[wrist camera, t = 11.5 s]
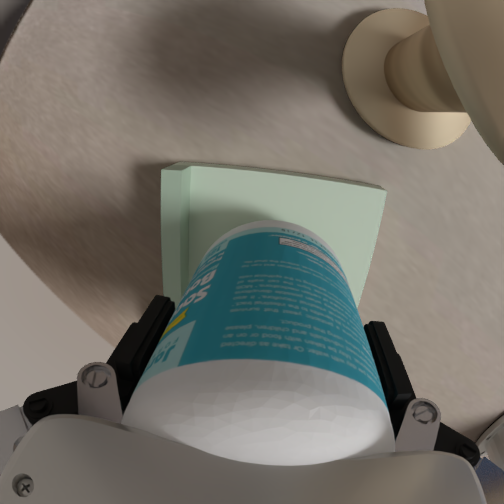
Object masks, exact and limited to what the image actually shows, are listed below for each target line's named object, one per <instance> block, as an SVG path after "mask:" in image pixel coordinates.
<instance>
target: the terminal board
mask: <svg viewBox="0 0 504 504" xmlns="http://www.w3.org/2000/svg"><path fill="white" fill-rule="evenodd" d="M386 194H387V190H385V189H384V188H382V187H381V186H377V185H372V184H366V183H361V182H355V181H349V180H343V179H337V178H331V177H324V176H318V175H311V174H303V173H296V172H288V171H280V170H272V169H263V168H254V167H244V166H233V165H221V164H208V163H194V162H178V163H175V164H173V165H171V166H168V167H166V168H164V169H161V251H162V276H163V294H164V296H166V297H170V299H171V301H174V302H175V310H176V308H177V306H178V304H179V302H180V300H181V298H182V296H183V294H184V292H185V290H186V288H187V286H188V284H189V283H190V281H191V279H192V277H193V275H194V273H195V271H196V269H197V267H198V266H199V264H200V262H201V260H202V259H203V257H204V255H205V254H206V252H207V251H208V249H209V248H210V247H211V246H212V245H213V244H214V242H215V241H217V240H218V239H219V238H220V237H221V236H223V235H224V234H225V233H227V232H229V231H230V230H232V229H234V228H236V227H238V226H241V225H244V224H247V223H251V222H255V221H263V220H278V221H285V222H290V223H294V224H297V225H300V226H302V227H304V228H306V229H308V230H310V231H312V232H313V233H315V234H316V235H318V236H319V237H320V238H322V239H323V240H324V241H325V242H326V243H327V244H328V245H329V246H330V247H331V249H332V250H333V251H334V253H335V254H336V256H337V257H338V259H339V261H340V263H341V266H342V268H343V271H344V273H345V276H346V278H347V281H348V284H349V287H350V290H351V292H352V295H353V298H354V301H355V304H356V307H357V308H358V305H359V301H360V298H361V295H362V291H363V288H364V285H365V281H366V278H367V274H368V270H369V267H370V263H371V259H372V255H373V252H374V248H375V244H376V240H377V235H378V231H379V227H380V223H381V218H382V214H383V209H384V204H385V199H386Z"/></svg>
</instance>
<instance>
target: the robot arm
mask: <svg viewBox="0 0 504 504" xmlns="http://www.w3.org/2000/svg"><path fill="white" fill-rule="evenodd" d="M174 311H175V302H174V301H171V299H170V297H166V296H160V295H156V296H155V297H154V299H153V300H152V302H151V303H150V305H149V306H148V308H147V310H146V311H145V313H144V314H143V316H142V317H141V319H140V320H139V322H138V323H135V322H134V323H132V324H131V325H130V327H129V328H128V330H127V331H126V333H125V334H124V336H123V338H122V339H121V341H120V342H119V344H118V345H117V347H116V348H115V350H114V351H113V353H112V355H111V356H110V358H109V359H108V361H107V363H102V362H93V363H89V364H87V365H85V366H84V367H83V368H81V369H80V371H79V373H78V376H77V381H74V382H71V383H68V384H64V385H61V386H57V387H54V388H50V389H47V390H43V391H40V392H36V393H34V394H32V395H30V396H29V397H28V398H27V399H26V400H25V402H24V405H23V406H22V407H19V406H18V405H16V406H14V407H11V408H8V409H6V410H3V411H0V504H504V415H503V416H502V417H500V418H499V419H498V420H497V421H496V422H495V423H493V424H492V425H491V426H490V427H489V428H488V429H487V430H486V431H485V432H484V433H483V434H482V436H481V437H480V438H479V439H478V441H477V442H476V444H475V443H474V442H473V441H471V440H470V439H468V438H466V437H465V436H463V435H461V434H460V433H458V432H456V431H455V430H453V429H451V428H450V427H448V426H446V425H445V424H443V423H441V422H440V420H441V412H440V409H439V408H438V406H437V405H436V404H435V403H434V402H432V401H430V400H428V399H425V398H417V399H416V396H415V393H414V391H413V388H412V385H411V383H410V380H409V377H408V375H407V372H406V370H405V367H404V365H403V362H402V360H401V357H400V355H399V354H398V353H397V352H396V350H395V347H394V345H393V342H392V340H391V337H390V335H389V333H388V330H387V328H386V326H385V323H384V322H378V321H370V322H369V324H365V325H364V331H365V334H366V337H367V340H368V343H369V346H370V350H371V353H372V356H373V359H374V362H375V366H376V369H377V372H378V376H379V379H380V382H381V386H382V389H383V393H384V396H385V400H386V404H387V407H388V411H389V415H390V420H391V424H392V428H393V432H394V439H395V452H387V453H378V454H373V455H368V456H362V457H356V458H350V459H341V460H334V461H330V462H325V463H319V464H312V465H296V466H282V465H264V464H255V463H248V462H242V461H237V460H232V459H228V458H224V457H220V456H217V455H213V454H210V453H207V452H205V451H202V450H200V449H197V448H195V447H191V446H188V445H184V444H181V443H178V442H175V441H172V440H169V439H166V438H163V437H160V436H158V435H155V434H152V433H150V432H147V431H145V430H141V429H138V428H134V427H130V426H127V425H123V424H121V422H122V418H123V415H124V413H125V410H126V408H127V406H128V404H129V402H130V399H131V397H132V394H133V392H134V390H135V388H136V386H137V384H138V382H139V380H140V378H141V376H142V374H143V372H144V371H145V369H146V367H147V365H148V363H149V361H150V359H151V357H152V355H153V353H154V351H155V349H156V347H157V345H158V343H159V341H160V339H161V337H162V335H163V333H164V331H165V329H166V327H167V325H168V323H169V321H170V319H171V317H172V315H173V313H174ZM485 455H488V457H489V459H490V460H489V459H487V458H486V457H485ZM480 456H484V457H483V458H480Z"/></svg>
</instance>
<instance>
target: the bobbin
mask: <svg viewBox="0 0 504 504" xmlns="http://www.w3.org/2000/svg"><path fill="white" fill-rule="evenodd" d="M424 1H425V6H426V11H427V15H428V16H426V15H424V14H422V13H419V12H416V11H413V10H408V9H400V8H393V9H385V10H381V11H378V12H375V13H373V14H371V15H369V16H368V17H366V18H365V19H364V20H363V21H362V22H361V23H359V24H358V26H357V27H356V28H355V29H354V30H353V32H352V33H351V35H350V36H349V38H348V40H347V42H346V44H345V47H344V50H343V56H342V75H343V81H344V85H345V89H346V91H347V94H348V97H349V99H350V100H351V102H352V104H353V106H354V108H355V109H356V111H357V112H358V114H359V115H360V116H361V118H362V119H363V120H364V121H365V122H366V123H367V124H368V125H369V126H370V127H371V128H372V129H373V130H374V131H376V132H377V133H378V134H379V135H381V136H383V137H384V138H386V139H388V140H390V141H392V142H394V143H397V144H400V145H403V146H407V147H411V148H416V149H436V148H440V147H444V146H446V145H448V144H450V143H452V142H453V141H455V140H457V139H458V138H459V137H460V136H461V135H462V134H463V133H464V131H465V130H466V129H467V127H468V126H469V124H470V122H471V121H472V122H473V124H474V126H475V128H476V129H477V131H478V132H479V134H480V135H481V137H482V138H483V140H484V141H485V143H486V144H487V146H488V147H489V148H490V149H491V151H492V152H493V153H494V155H495V156H496V157H497V158H498V160H499V161H500V162H501V163H502V164H503V165H504V0H424Z"/></svg>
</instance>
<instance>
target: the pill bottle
mask: <svg viewBox="0 0 504 504" xmlns="http://www.w3.org/2000/svg"><path fill="white" fill-rule="evenodd" d="M121 424H123V425H127V426H130V427H134V428H138V429H141V430H145V431H147V432H150V433H152V434H155V435H158V436H160V437H163V438H166V439H169V440H172V441H175V442H178V443H181V444H184V445H188V446H191V447H195V448H197V449H200V450H202V451H205V452H207V453H210V454H213V455H217V456H220V457H224V458H228V459H232V460H237V461H242V462H248V463H255V464H264V465H282V466H296V465H312V464H319V463H325V462H330V461H334V460H341V459H350V458H356V457H362V456H368V455H373V454H378V453H387V452H395V439H394V432H393V428H392V424H391V420H390V415H389V411H388V407H387V404H386V400H385V396H384V393H383V389H382V386H381V382H380V379H379V376H378V372H377V369H376V366H375V362H374V359H373V356H372V353H371V350H370V346H369V343H368V340H367V337H366V334H365V331H364V328H363V325H362V322H361V319H360V316H359V313H358V310H357V307H356V304H355V301H354V298H353V295H352V292H351V290H350V287H349V284H348V281H347V278H346V276H345V273H344V271H343V268H342V266H341V263H340V261H339V259H338V257H337V256H336V254H335V253H334V251H333V250H332V249H331V247H330V246H329V245H328V244H327V243H326V242H325V241H324V240H323V239H322V238H320V237H319V236H318V235H316V234H315V233H313V232H312V231H310V230H308V229H306V228H304V227H302V226H300V225H297V224H294V223H290V222H285V221H278V220H263V221H255V222H251V223H247V224H244V225H241V226H238V227H236V228H234V229H232V230H230V231H229V232H227V233H225V234H224V235H223V236H221V237H220V238H219V239H218V240H217V241H215V242H214V244H213V245H212V246H211V247H210V248H209V249H208V251H207V252H206V254H205V255H204V257H203V259H202V260H201V262H200V264H199V266H198V267H197V269H196V271H195V273H194V275H193V277H192V279H191V281H190V283H189V284H188V286H187V288H186V290H185V292H184V294H183V296H182V298H181V300H180V302H179V304H178V306H177V308H176V310H175V311H174V313H173V315H172V317H171V319H170V321H169V323H168V325H167V327H166V329H165V331H164V333H163V335H162V337H161V339H160V341H159V343H158V345H157V347H156V349H155V351H154V353H153V355H152V357H151V359H150V361H149V363H148V365H147V367H146V369H145V371H144V372H143V374H142V376H141V378H140V380H139V382H138V384H137V386H136V388H135V390H134V392H133V394H132V397H131V399H130V402H129V404H128V406H127V408H126V410H125V413H124V415H123V418H122V422H121Z"/></svg>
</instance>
